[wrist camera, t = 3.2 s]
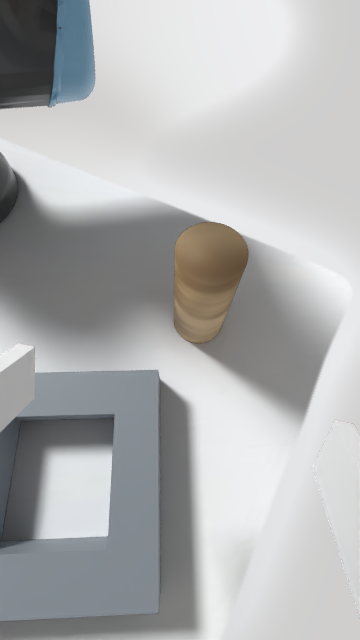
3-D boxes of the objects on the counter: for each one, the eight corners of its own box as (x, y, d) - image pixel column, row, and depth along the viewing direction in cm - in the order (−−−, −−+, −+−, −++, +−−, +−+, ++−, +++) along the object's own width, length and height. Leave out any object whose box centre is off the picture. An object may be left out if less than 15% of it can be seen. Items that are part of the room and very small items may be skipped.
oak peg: (173, 299, 32) (173, 222, 21) (219, 298, 33) (244, 221, 22) (174, 343, 31) (175, 284, 19) (223, 342, 31) (252, 282, 20)
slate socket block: (-11, 382, 29) (-34, 374, 25) (159, 378, 29) (158, 369, 26) (-57, 600, 22) (-96, 625, 19) (160, 590, 23) (158, 613, 20)
